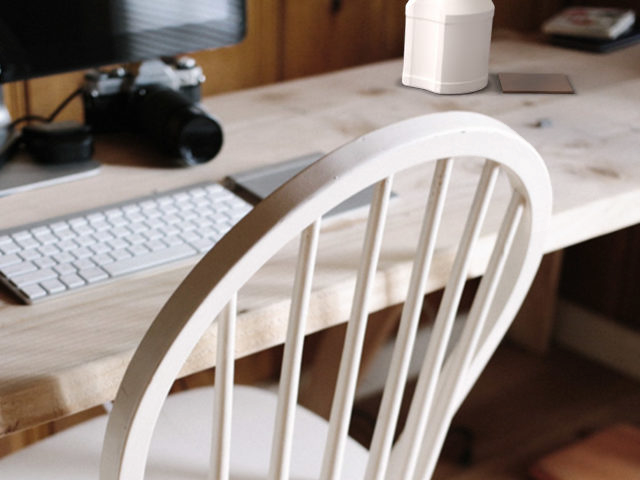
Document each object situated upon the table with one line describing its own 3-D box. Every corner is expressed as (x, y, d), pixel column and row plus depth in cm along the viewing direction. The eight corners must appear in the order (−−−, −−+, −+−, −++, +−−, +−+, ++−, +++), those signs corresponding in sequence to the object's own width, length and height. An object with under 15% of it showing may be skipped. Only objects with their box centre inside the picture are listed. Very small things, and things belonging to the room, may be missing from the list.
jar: (389, 82, 141) (394, -34, 134) (434, 69, 147) (442, -43, 139) (454, 98, 134) (464, -24, 126) (500, 84, 139) (512, -34, 131)
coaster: (563, 75, 142) (563, 73, 142) (572, 93, 135) (573, 91, 135) (497, 75, 143) (497, 73, 143) (503, 92, 136) (503, 90, 135)
